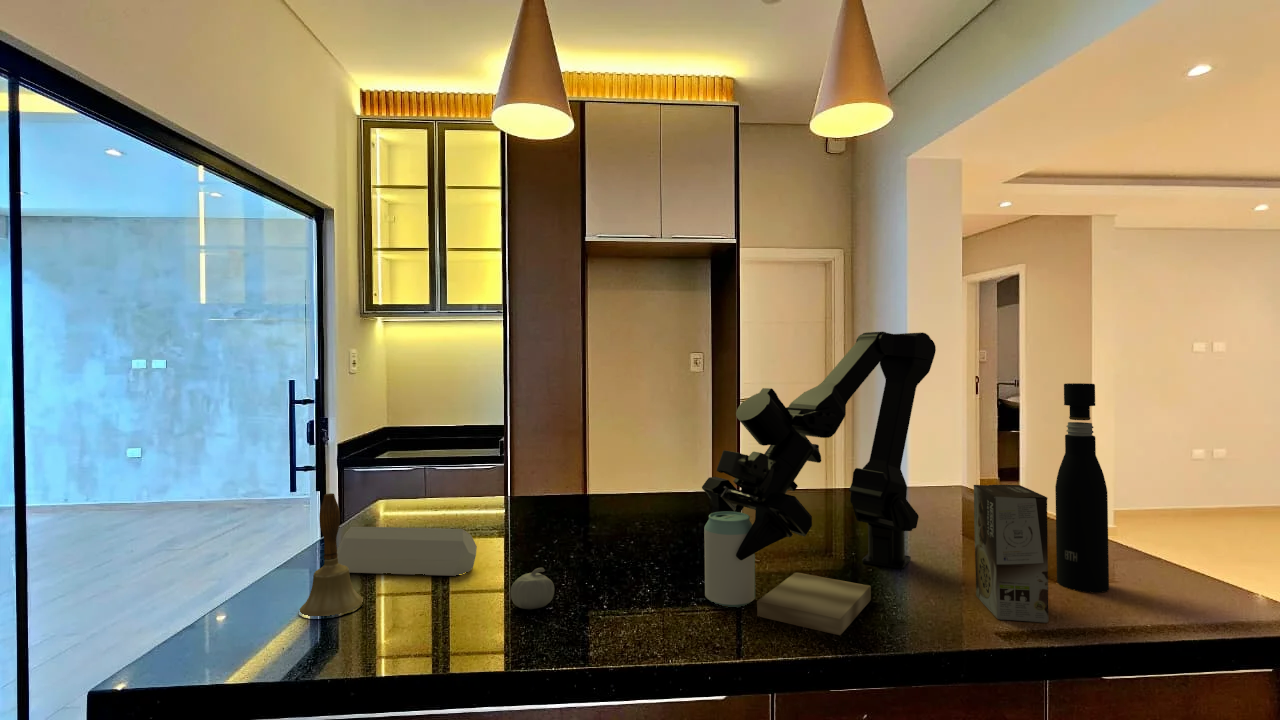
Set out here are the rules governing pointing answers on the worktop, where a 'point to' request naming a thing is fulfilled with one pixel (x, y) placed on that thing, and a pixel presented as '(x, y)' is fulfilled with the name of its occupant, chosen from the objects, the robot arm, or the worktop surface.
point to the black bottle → (1081, 501)
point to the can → (728, 560)
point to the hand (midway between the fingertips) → (721, 551)
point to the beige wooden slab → (815, 602)
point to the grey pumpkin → (532, 590)
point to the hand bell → (331, 571)
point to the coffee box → (1011, 552)
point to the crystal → (407, 550)
